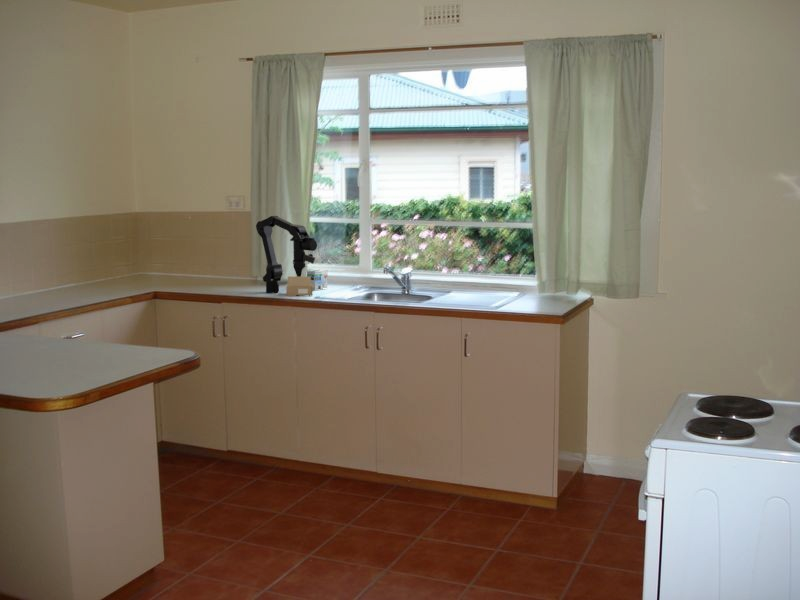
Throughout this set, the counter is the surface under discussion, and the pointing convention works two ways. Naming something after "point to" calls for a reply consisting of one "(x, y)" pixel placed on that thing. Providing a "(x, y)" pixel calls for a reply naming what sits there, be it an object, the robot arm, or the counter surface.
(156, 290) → the counter surface
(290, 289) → the carton
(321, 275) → the light bulb box
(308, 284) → the flap near
